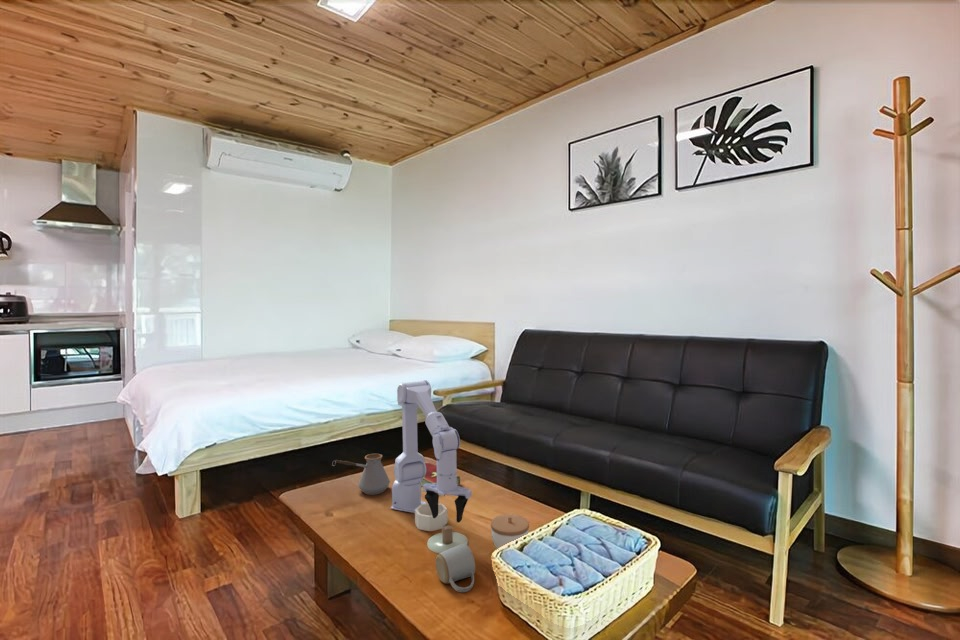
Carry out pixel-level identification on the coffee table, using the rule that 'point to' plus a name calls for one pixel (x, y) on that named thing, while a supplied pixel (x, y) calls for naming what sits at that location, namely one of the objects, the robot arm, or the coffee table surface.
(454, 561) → the ceramic mug
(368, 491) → the coffee pot
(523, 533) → the lidded jar
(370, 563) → the coffee table surface
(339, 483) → the coffee table surface
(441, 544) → the lid
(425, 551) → the coffee table surface
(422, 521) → the bowl
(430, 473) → the hardcover book
